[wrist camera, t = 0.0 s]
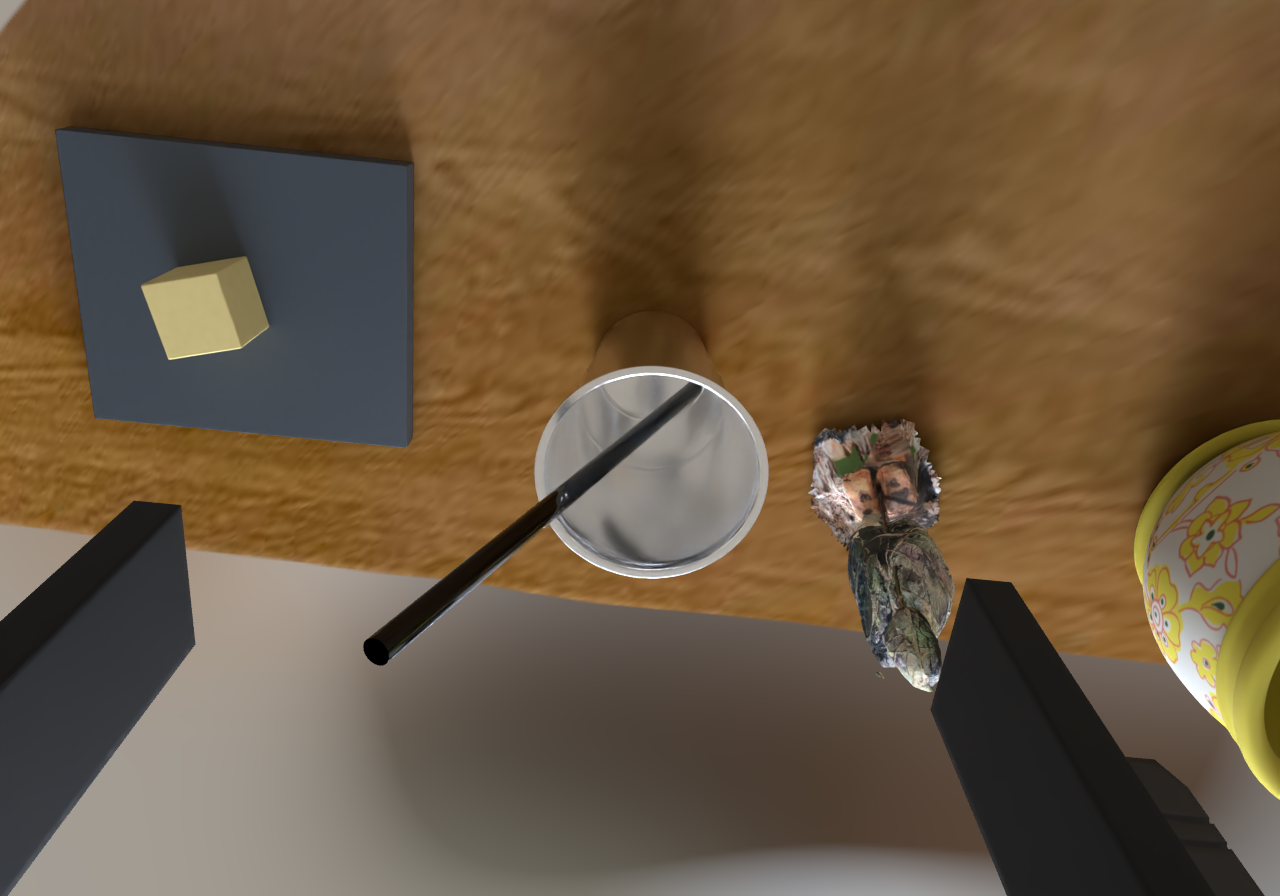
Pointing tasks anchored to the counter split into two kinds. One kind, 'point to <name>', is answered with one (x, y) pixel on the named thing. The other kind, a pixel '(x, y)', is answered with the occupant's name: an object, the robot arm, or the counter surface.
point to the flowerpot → (1221, 584)
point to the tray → (282, 270)
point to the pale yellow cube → (206, 307)
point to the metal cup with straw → (627, 471)
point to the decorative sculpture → (888, 540)
